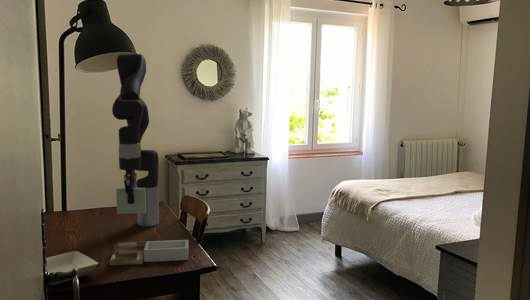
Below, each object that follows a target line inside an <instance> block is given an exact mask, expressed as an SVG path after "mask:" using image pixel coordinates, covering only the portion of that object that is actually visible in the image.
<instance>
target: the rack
mask: <svg viewBox="0 0 530 300" xmlns="http://www.w3.org/2000/svg"><path fill="white" fill-rule="evenodd" d="M136 242H137V249H138V257H137V260H125V261H115V253H116V251H117V250H119V244H124V243H136ZM146 242H147V241H129V242H128V241H124V242H116V243H115V245H114V246H113V248H114V251H113V253H112V255H111V258H110V259H109V261H108V263H109V266H125V265H127V266H128V265H131V266H132V265H142V264H143V263H144V248H145V245H146Z"/></svg>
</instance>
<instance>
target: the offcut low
mask: <svg viewBox="0 0 530 300" xmlns="http://www.w3.org/2000/svg"><path fill="white" fill-rule="evenodd" d="M137 257H138V249H137V253H127V254H119V250H117V251H116V253H115V261H125V260H137Z"/></svg>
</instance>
